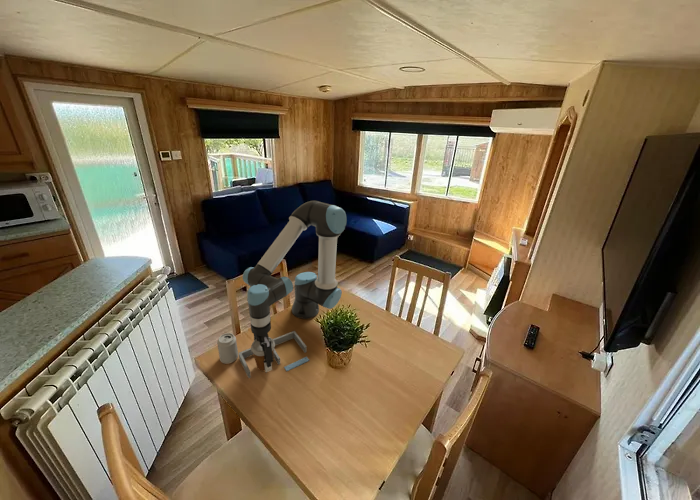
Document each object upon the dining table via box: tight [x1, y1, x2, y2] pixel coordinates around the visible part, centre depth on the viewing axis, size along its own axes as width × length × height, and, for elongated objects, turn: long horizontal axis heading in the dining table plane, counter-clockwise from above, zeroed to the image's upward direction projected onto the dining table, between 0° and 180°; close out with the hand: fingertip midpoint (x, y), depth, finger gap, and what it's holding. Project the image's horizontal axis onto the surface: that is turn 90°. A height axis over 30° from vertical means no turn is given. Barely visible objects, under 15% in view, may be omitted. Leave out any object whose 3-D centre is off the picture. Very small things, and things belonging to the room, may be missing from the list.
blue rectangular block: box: [283, 356, 310, 372], centre depth 123 cm, size 11×2×1 cm, turn 127°
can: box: [216, 332, 239, 364], centre depth 121 cm, size 8×8×12 cm
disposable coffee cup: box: [250, 336, 276, 372], centre depth 117 cm, size 10×10×12 cm
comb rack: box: [238, 330, 308, 379], centre depth 126 cm, size 27×12×4 cm, turn 127°
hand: (264, 363), depth 119 cm, fingers closed on disposable coffee cup, 8 cm apart
